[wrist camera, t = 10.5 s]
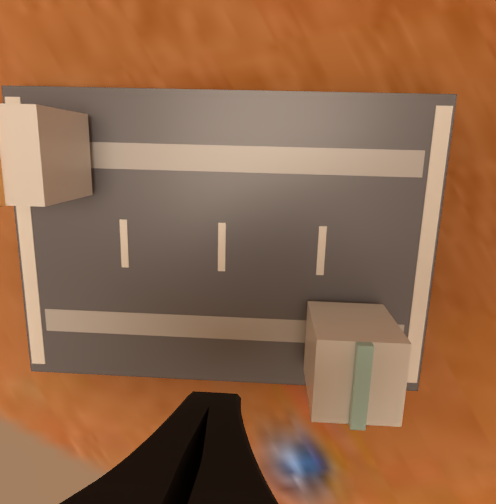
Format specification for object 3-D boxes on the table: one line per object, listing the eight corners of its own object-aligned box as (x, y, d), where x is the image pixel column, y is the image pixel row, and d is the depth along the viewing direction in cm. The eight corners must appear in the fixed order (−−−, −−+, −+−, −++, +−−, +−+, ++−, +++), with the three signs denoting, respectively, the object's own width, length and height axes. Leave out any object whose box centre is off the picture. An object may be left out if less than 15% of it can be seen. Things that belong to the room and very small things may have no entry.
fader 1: (87, 114, 16) (30, 103, 12) (92, 194, 17) (40, 207, 13) (9, 112, 16) (-72, 101, 12) (17, 192, 17) (-57, 204, 13)
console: (440, 99, 17) (457, 94, 15) (407, 373, 20) (418, 391, 18) (23, 90, 18) (0, 85, 16) (48, 355, 21) (30, 371, 19)
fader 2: (382, 304, 17) (414, 348, 13) (376, 372, 18) (404, 432, 14) (307, 301, 17) (317, 343, 13) (303, 368, 18) (311, 427, 14)
